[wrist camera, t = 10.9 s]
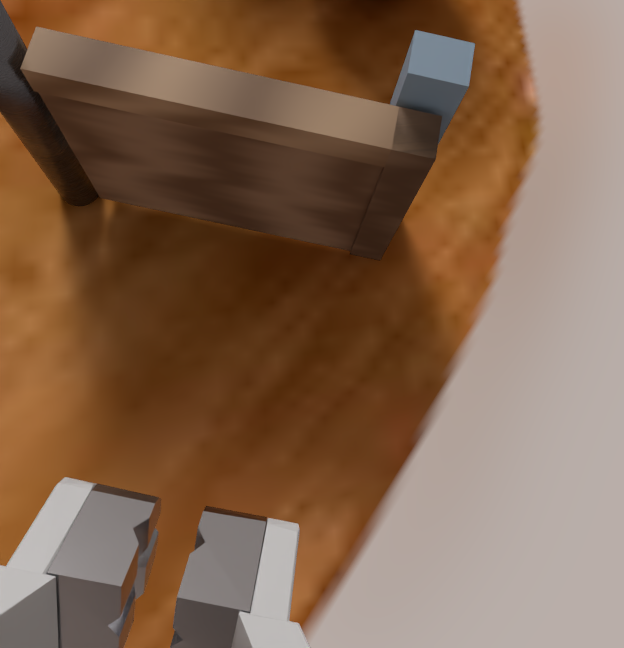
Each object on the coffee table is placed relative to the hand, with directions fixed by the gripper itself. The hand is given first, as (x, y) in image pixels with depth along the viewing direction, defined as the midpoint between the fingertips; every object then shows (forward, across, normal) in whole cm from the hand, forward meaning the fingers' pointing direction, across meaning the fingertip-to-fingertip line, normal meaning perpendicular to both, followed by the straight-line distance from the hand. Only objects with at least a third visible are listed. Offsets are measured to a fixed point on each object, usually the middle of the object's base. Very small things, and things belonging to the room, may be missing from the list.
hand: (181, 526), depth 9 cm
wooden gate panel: (+26, +3, +5) cm, 27 cm away
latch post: (+28, -5, +4) cm, 29 cm away
